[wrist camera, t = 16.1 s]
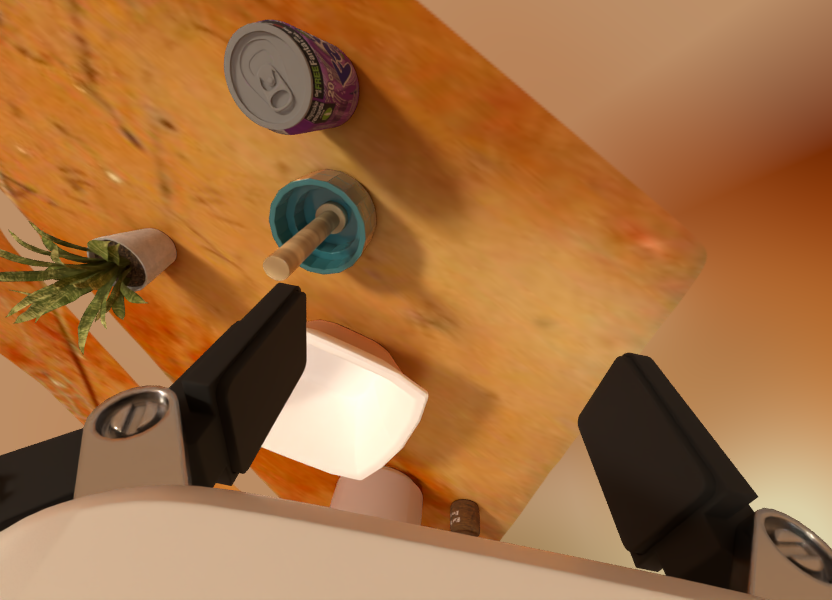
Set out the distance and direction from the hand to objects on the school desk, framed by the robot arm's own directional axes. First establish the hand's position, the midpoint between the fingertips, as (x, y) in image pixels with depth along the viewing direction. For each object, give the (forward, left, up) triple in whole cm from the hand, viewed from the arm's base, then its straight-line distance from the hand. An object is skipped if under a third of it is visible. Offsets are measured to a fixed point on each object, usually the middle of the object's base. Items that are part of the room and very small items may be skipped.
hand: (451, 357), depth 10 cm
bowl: (+30, -11, -31) cm, 44 cm away
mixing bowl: (+7, -13, -30) cm, 34 cm away
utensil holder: (+64, +17, -31) cm, 73 cm away
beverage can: (-6, -14, -31) cm, 34 cm away
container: (+63, -1, -31) cm, 70 cm away
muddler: (+7, -13, -30) cm, 33 cm away
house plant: (+15, -37, -31) cm, 50 cm away
